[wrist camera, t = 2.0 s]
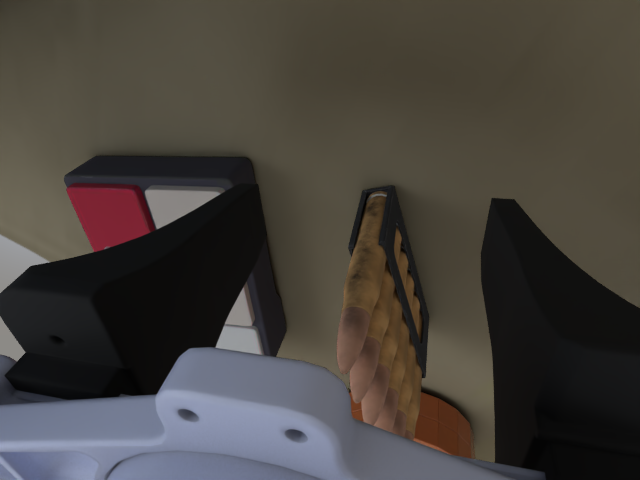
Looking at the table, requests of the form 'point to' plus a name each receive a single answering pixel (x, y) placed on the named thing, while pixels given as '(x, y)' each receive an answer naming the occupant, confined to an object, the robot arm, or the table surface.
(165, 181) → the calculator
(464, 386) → the table surface
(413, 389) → the ammunition clip
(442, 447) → the bowl
